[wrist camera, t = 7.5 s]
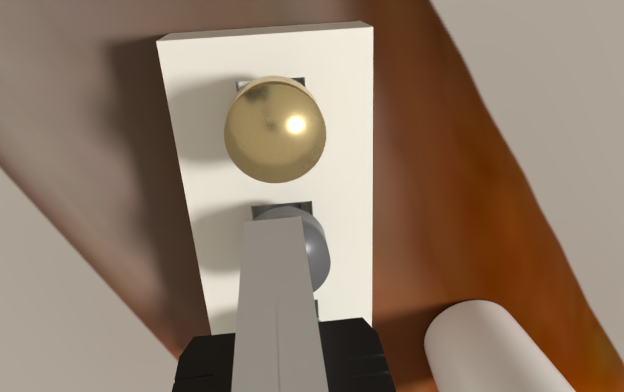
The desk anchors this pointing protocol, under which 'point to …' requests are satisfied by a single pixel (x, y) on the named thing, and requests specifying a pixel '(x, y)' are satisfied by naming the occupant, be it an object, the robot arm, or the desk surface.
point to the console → (255, 194)
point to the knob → (274, 130)
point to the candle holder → (487, 353)
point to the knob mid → (312, 235)
